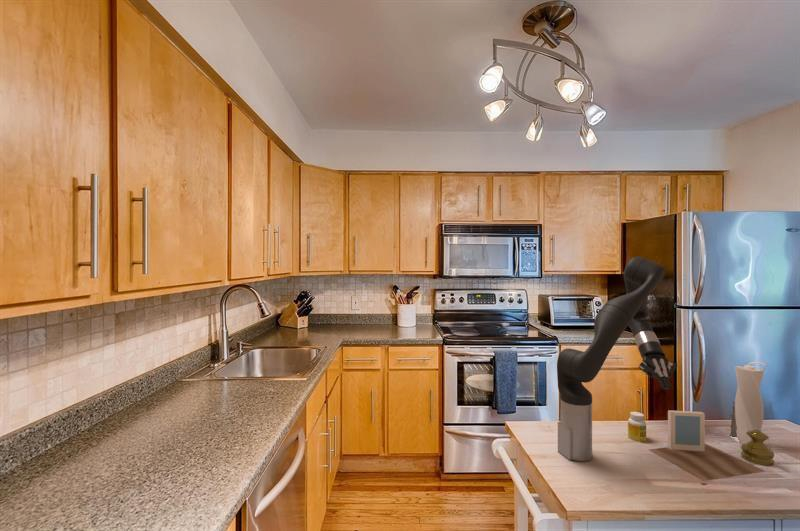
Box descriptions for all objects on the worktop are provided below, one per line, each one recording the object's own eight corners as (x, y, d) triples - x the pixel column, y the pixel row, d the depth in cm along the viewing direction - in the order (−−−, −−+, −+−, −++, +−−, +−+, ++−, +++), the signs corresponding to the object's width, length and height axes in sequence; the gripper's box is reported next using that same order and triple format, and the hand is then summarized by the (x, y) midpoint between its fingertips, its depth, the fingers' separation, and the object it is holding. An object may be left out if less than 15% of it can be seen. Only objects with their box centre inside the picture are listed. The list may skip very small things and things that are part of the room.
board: (703, 484, 106) (703, 480, 106) (648, 453, 123) (648, 449, 123) (765, 475, 110) (765, 471, 110) (703, 446, 128) (703, 442, 128)
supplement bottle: (632, 436, 135) (632, 409, 135) (649, 442, 130) (649, 414, 130) (624, 440, 132) (624, 412, 132) (641, 447, 127) (641, 418, 127)
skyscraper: (761, 442, 131) (762, 360, 131) (768, 452, 124) (768, 365, 124) (729, 436, 136) (730, 357, 136) (734, 445, 129) (734, 362, 129)
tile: (670, 449, 123) (670, 412, 123) (667, 447, 125) (668, 410, 125) (704, 451, 122) (704, 413, 122) (701, 449, 123) (701, 411, 123)
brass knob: (777, 472, 112) (777, 438, 112) (743, 465, 116) (744, 432, 116) (770, 461, 118) (770, 429, 118) (738, 455, 122) (738, 423, 122)
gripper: (663, 351, 148) (683, 394, 136) (627, 350, 150) (643, 393, 138) (671, 340, 143) (692, 383, 131) (633, 340, 144) (650, 383, 132)
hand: (667, 388), depth 134 cm, fingers closed
